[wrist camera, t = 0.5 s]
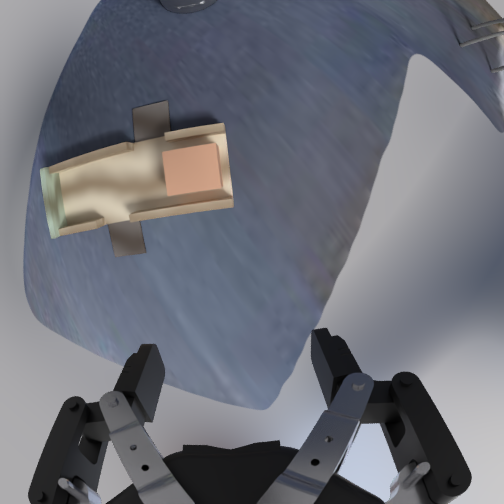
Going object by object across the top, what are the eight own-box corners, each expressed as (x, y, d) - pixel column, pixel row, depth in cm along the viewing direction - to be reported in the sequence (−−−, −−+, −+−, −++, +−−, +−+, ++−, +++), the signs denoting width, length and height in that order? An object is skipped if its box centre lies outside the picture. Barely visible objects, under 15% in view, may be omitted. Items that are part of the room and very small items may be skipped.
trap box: (55, 137, 30) (37, 135, 25) (221, 91, 30) (218, 81, 26) (75, 262, 36) (60, 272, 31) (238, 240, 36) (238, 250, 32)
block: (171, 154, 31) (161, 152, 27) (218, 146, 31) (215, 143, 27) (176, 192, 33) (167, 196, 29) (223, 185, 33) (221, 188, 29)
